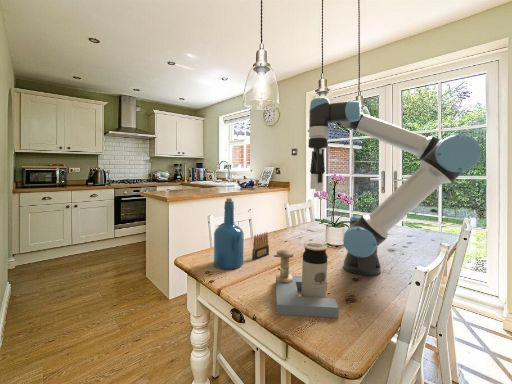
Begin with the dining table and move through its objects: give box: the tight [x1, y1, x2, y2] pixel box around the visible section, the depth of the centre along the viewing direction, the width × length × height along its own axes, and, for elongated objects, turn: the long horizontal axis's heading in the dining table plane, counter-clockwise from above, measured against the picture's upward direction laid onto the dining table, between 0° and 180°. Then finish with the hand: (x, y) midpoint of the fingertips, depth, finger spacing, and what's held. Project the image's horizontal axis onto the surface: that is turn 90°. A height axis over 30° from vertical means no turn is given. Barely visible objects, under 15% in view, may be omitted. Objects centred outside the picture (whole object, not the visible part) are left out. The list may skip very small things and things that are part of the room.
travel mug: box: [300, 242, 328, 298], centre depth 86 cm, size 8×8×18 cm
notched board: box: [275, 274, 340, 319], centre depth 86 cm, size 18×22×3 cm
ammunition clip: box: [251, 231, 270, 261], centre depth 126 cm, size 11×2×12 cm, turn 139°
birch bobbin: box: [275, 249, 294, 283], centre depth 93 cm, size 6×6×10 cm
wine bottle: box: [213, 197, 245, 270], centre depth 114 cm, size 14×13×30 cm
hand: (316, 190), depth 107 cm, fingers open, 13 cm apart
